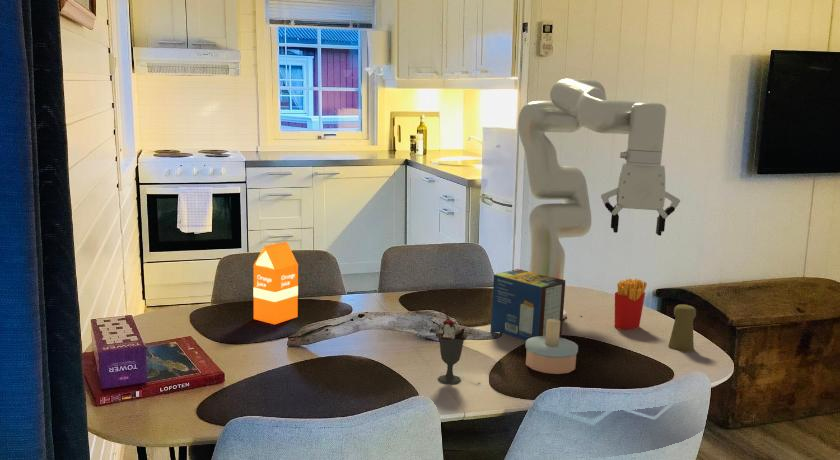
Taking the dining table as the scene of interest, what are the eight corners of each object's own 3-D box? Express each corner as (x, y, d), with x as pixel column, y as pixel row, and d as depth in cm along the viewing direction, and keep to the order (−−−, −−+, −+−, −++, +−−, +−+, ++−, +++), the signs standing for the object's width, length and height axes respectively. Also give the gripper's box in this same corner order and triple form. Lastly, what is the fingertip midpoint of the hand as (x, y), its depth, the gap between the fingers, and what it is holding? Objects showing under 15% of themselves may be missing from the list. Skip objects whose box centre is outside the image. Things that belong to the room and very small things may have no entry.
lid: (515, 348, 161) (517, 320, 160) (541, 336, 170) (543, 310, 169) (562, 361, 154) (564, 332, 153) (586, 348, 163) (589, 321, 162)
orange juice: (298, 316, 192) (298, 243, 189) (274, 324, 185) (275, 248, 182) (276, 311, 197) (276, 239, 193) (252, 318, 189) (252, 244, 186)
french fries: (619, 330, 192) (623, 283, 189) (609, 325, 196) (613, 279, 193) (646, 327, 196) (650, 281, 193) (635, 322, 199) (639, 277, 197)
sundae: (431, 374, 156) (434, 307, 153) (462, 374, 157) (466, 307, 154) (435, 385, 149) (438, 316, 147) (467, 386, 150) (470, 316, 147)
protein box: (514, 324, 194) (517, 268, 191) (562, 339, 183) (566, 280, 180) (489, 332, 186) (492, 273, 184) (537, 347, 176) (541, 286, 173)
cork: (695, 353, 176) (700, 310, 174) (670, 350, 177) (674, 307, 175) (691, 345, 182) (696, 303, 180) (666, 342, 183) (671, 301, 181)
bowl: (516, 367, 162) (517, 348, 161) (540, 355, 170) (542, 337, 169) (559, 380, 155) (561, 361, 154) (583, 367, 163) (584, 348, 163)
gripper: (606, 157, 159) (599, 233, 162) (687, 161, 157) (679, 238, 160) (602, 155, 167) (596, 228, 170) (680, 159, 164) (672, 232, 167)
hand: (636, 233), depth 165 cm, fingers open, 9 cm apart
